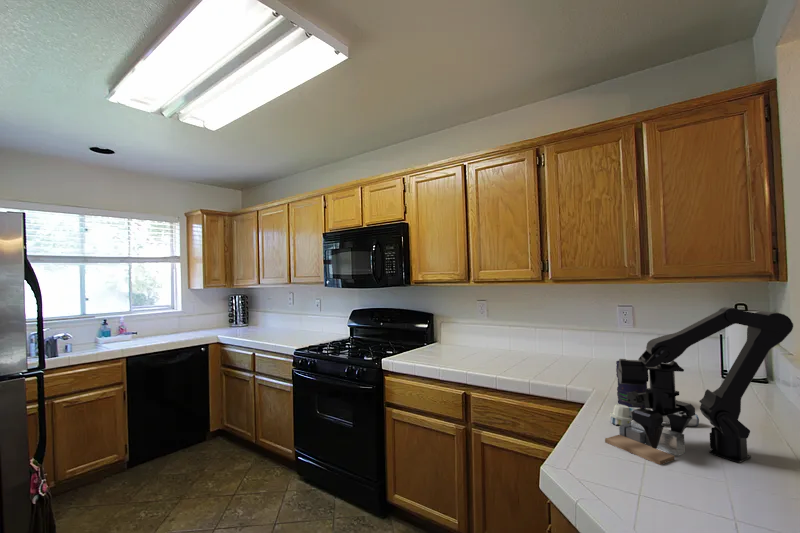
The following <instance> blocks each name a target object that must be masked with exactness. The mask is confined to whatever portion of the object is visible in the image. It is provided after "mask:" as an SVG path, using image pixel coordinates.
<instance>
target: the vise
mask: <svg viewBox="0 0 800 533" xmlns="http://www.w3.org/2000/svg"><path fill="white" fill-rule="evenodd" d="M618 429H619V435H622V436H624V437H627V438H630V439H632V440H635V441H637V442H640V443H643V444H645V438H644V431H641V430H638V429H635V428H632V427H631V423H628V424H624V425H619V426H618ZM645 445H646V444H645Z"/></svg>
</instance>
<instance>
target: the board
mask: <svg viewBox="0 0 800 533" xmlns="http://www.w3.org/2000/svg"><path fill="white" fill-rule="evenodd" d="M604 443H606V444H609V445H612V446H614V447H616V448H618V449H620V450H622V451H626V452H628V453H630V454H633V455H634V456H638V457H640V458H642V459H645V460H647V461H649V462H653V463H655V464H657V465H660V466H661V465H664V464H668V463H671V462H672V461H675V460H676V458H675V457H676V455H674V454H671V453H668V452H666V451H663V450H660V449H658V448H656V449H655V448H652V446H649V445H647V444H643V443H640V442H637V441H635V440H632V439H630V438H627V437H624V436H622V435H620V434H617V435H613V436H609V437H607V438H606V437H605V439H604Z"/></svg>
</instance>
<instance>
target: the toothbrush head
mask: <svg viewBox="0 0 800 533" xmlns="http://www.w3.org/2000/svg"><path fill="white" fill-rule="evenodd" d="M636 409H640V408H633V407H628V406H625V405H621V404H618V403H616V404H615V405H614V406H613V411H611V412H610V413H609V416H610V423H611V424H613V425H615V426H617V425H619V426H620V425H624V424H628V423H631V422H633V420H632V415H631V412H632V411H634V410H636ZM645 409H648V410H652V409H651V408H645ZM652 411H653V410H652ZM663 423H666V424H667V423H668V424H670V420H669V418H668V417H667V416H664V417H663ZM699 425H700V417H699V416H698V414H696V413H695V415H694V416H692V419H691V420H690V421H689V423H688V425H687V426H686V427H698V426H699Z"/></svg>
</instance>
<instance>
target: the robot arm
mask: <svg viewBox="0 0 800 533" xmlns="http://www.w3.org/2000/svg"><path fill="white" fill-rule="evenodd" d="M735 324H736V325H741V326H745V327H747V330H746V341H745V343H744V344H743V346H742V348H741V350H740V352H739V353H738V355H737V357H736V358H735V360H734V362H733V363H732V366H731V367H730V369H729V370H728V372H727V374H726V376H725V378H724V379H723V381H722V383H721V384H720V386H719V387H718V388H717V389H715V390H713V391H712V390H710V389H708V388H707V389H706V390H705V392H704V395H703V397H702V398H700V400H698V401H699V403H700V406H699V409H700V412H701V414H702V415H703V416H704V418H706V419H707V420H708V421H709V423H710V425H712V427H711V428H710V430H711V432H709V447H710V449H709V450H708V453H709V454H711V455H715V456H717V457H719V458H723V459H725V460H729V461H731V462H735V463H741V462H742V463H743V461H746V460H749V459H751V458H752V455H751V454H749V453H748V441H747V440H748V438H749V436H750V433H751V430H750V429H749V428H748V427H747V426H746V425H744V423H742V422H741V421H740V420H739V418H740V415H741V410H742V409H741V408H742V398H743V396H744V394H745V392H746V391H747V390H748V387H749V386H750V384H751V382H752V381H753V380H754V378H755V376H756V374H757V372H758V371H759V369H760V368H761V366H762V363H763V362H764V360H765V358H766V357H767V355H768V353H769V352H770V350H771V349H773V348H774V347H776V346H777V345H779V344H780V343H782V342H783V341H785V339H786V338H787V336H789V334H790V333H792V331H793V328H794V323H793V321H792V319H791V318H790V317H789V316H787V315H786V314H784V313H782V312H781V313H780V312H775V311H768V310H761V311H757V312H751V311H746V310H741V309H738V308H735V307H730V306H724V307H721V308H719V309H718V311H715V312H714V313H712V314H710V315H708V316H706V317H704V318H702V319H700V320H698V321H696V322H694V323H693V324H691V325H689V326H687V327H685V328H683V329H681V330H679V331H677V332H674V333H670V334H665V335H662V336H658V337H655V338H652V339H650V340H648V342H647V343H646V346H645V348H646V349H645V350H644V351H643V353H642V354H641V355H640V357H639V358H638V359H626V358H619V359H618V361H619V366H618V378H617V380H618V379H619V383H620V384H632V385H644V383H647V384H648V382H649V387H647V389H646V391H645V393H637V392H635V391H634V392H628V393H627V401H628V403H629V404H632V406H633V407H636V406H640V405H645V407H646V409H645V408H640V409H636V410H634V411H632V412H631V415H632V421H636V423H638V424H640V425H641V426H642V427H643V428H644V430H645V432H646V434H647V436H648V439H649V441H650V444H651V447H652V448H655V449H658V448H657V447H658V444H659V441H660V437H661V434H662V430H663V428H665V426H664V425H662V424H663V423H664V422H663V417H664V416H667V417H668V418H669V420H670V423H669V426H670V430H672V431H675V432H678V433H681V434H684V431H685V429H686V428H687V427H688V426H687V425H688V423H689V421H690V420H691V419H692V416H694V415H695V414H696V408H695V407H694V405H692V403H688V402H684V401H680V400H676V398H677V396H680V391H678V390H676V378H675V377H676V376H675V374H676V373H675V372H681V373H682V372H684V371H685V369H683V367H681V366H680V365H679V364H678V362H677V361H675V360H676V359H677V358H678V357H680V356H682V355H683V354H684V352H685V351H686V350H687V349H688V348H689V347H691V346H693V345H695V344H697V343H699V342H701V341H702V340H705V339H707V338H709V337H711V336H713V335H714V334H715V335H716V334H717V333H719V332H721V331H722V330H724V329H726V328H729V327H730V326H733V325H735ZM648 409H652V410H653V411H652V410H648Z"/></svg>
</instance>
